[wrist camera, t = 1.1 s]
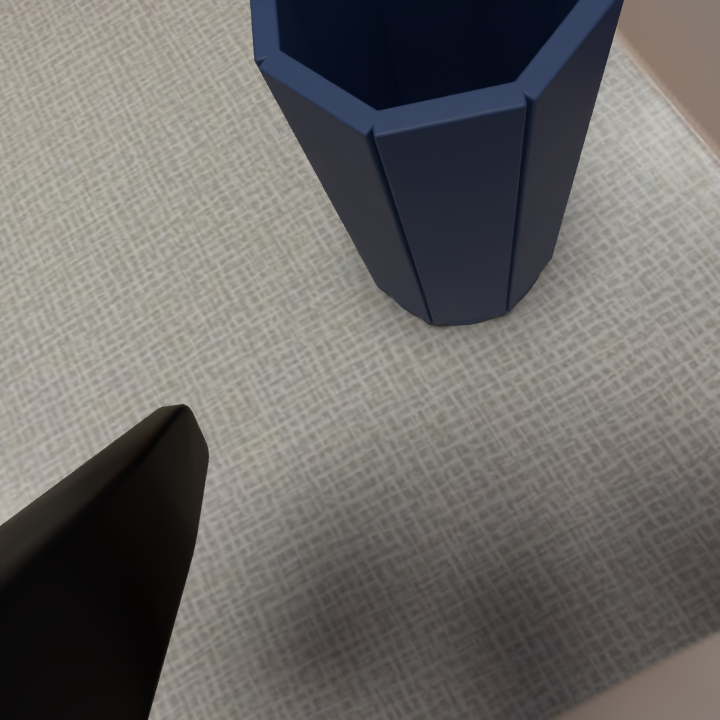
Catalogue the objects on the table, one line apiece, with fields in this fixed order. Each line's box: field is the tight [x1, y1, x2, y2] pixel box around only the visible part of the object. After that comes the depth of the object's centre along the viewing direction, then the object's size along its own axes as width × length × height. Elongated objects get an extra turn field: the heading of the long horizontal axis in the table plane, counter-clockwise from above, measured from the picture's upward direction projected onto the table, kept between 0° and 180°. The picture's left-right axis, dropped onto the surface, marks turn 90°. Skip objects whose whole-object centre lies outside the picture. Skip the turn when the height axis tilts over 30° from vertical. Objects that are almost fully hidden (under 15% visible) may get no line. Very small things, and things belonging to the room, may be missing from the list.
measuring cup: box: [250, 0, 624, 325], centre depth 18 cm, size 11×6×13 cm, turn 6°
